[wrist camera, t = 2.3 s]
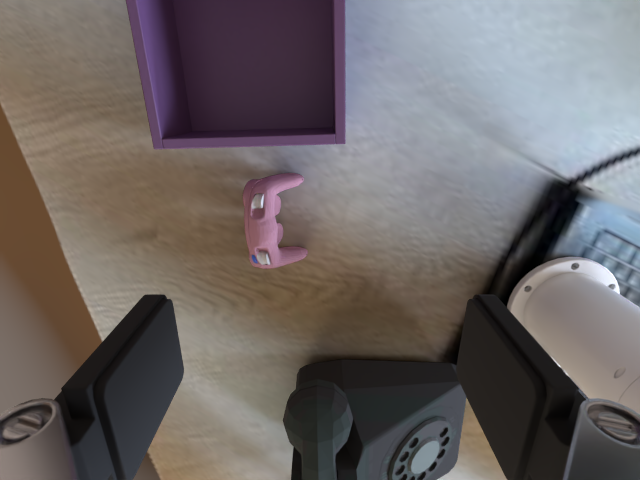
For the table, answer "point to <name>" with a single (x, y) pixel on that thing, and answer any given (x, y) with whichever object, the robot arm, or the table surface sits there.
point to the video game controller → (268, 221)
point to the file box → (241, 71)
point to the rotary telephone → (375, 420)
